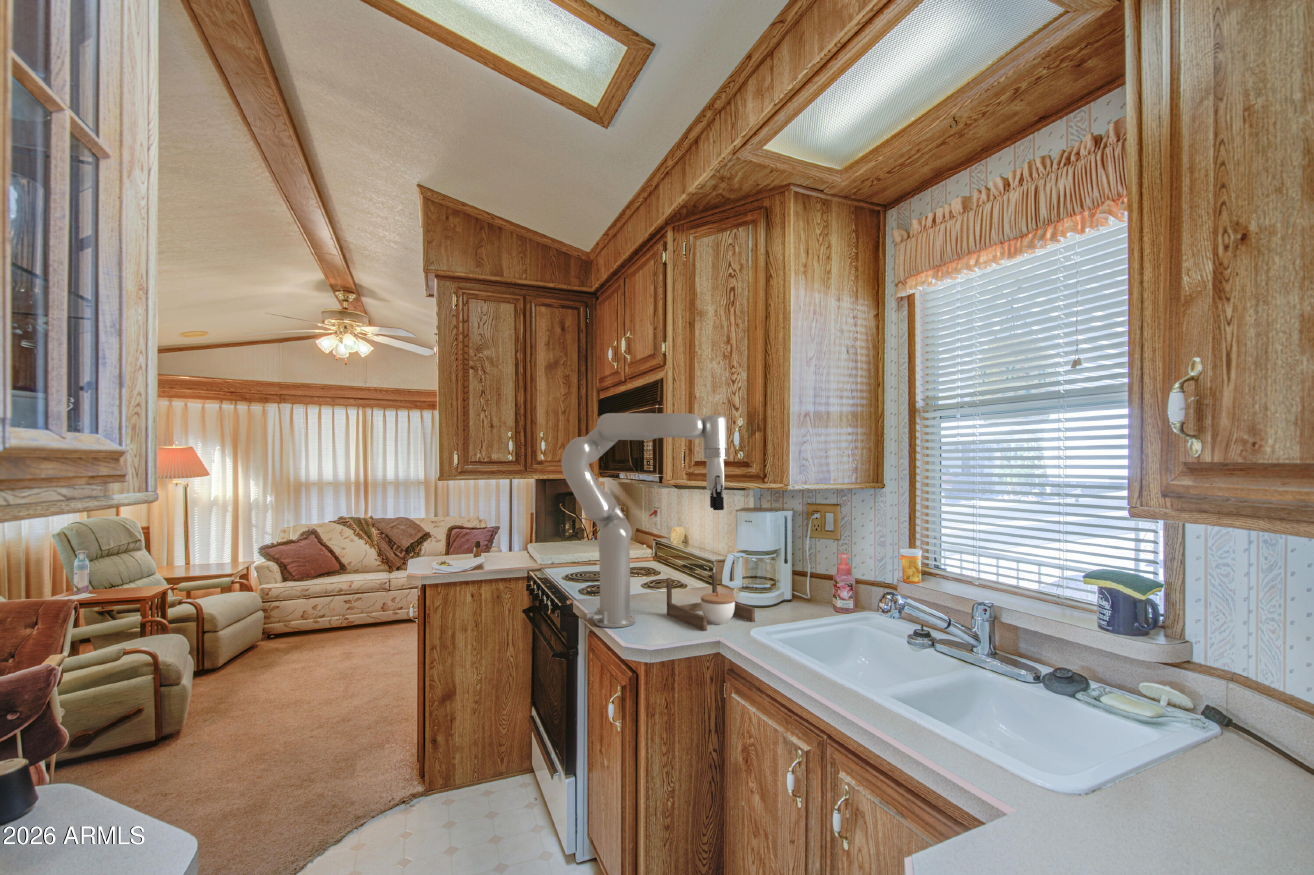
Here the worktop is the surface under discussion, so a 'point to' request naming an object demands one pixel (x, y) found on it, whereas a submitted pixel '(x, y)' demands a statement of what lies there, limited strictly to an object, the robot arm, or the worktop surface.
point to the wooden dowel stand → (695, 619)
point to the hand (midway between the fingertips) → (716, 508)
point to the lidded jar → (718, 607)
